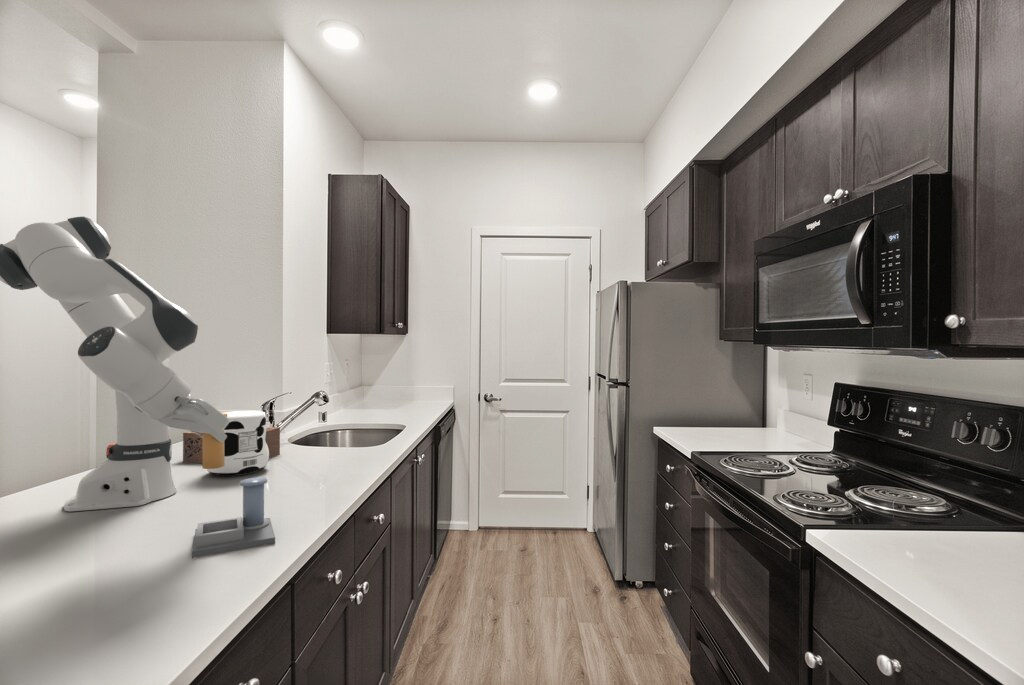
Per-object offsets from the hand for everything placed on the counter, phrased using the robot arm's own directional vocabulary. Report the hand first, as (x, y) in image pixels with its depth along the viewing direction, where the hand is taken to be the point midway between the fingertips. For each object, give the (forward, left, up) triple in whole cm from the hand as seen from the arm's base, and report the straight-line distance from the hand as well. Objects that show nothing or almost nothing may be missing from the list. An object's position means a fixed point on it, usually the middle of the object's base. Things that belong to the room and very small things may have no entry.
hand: (216, 438), depth 107 cm
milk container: (+5, +53, -20) cm, 57 cm away
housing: (+3, -7, -20) cm, 21 cm away
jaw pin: (0, 0, -6) cm, 6 cm away
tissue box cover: (+4, +76, -20) cm, 79 cm away
